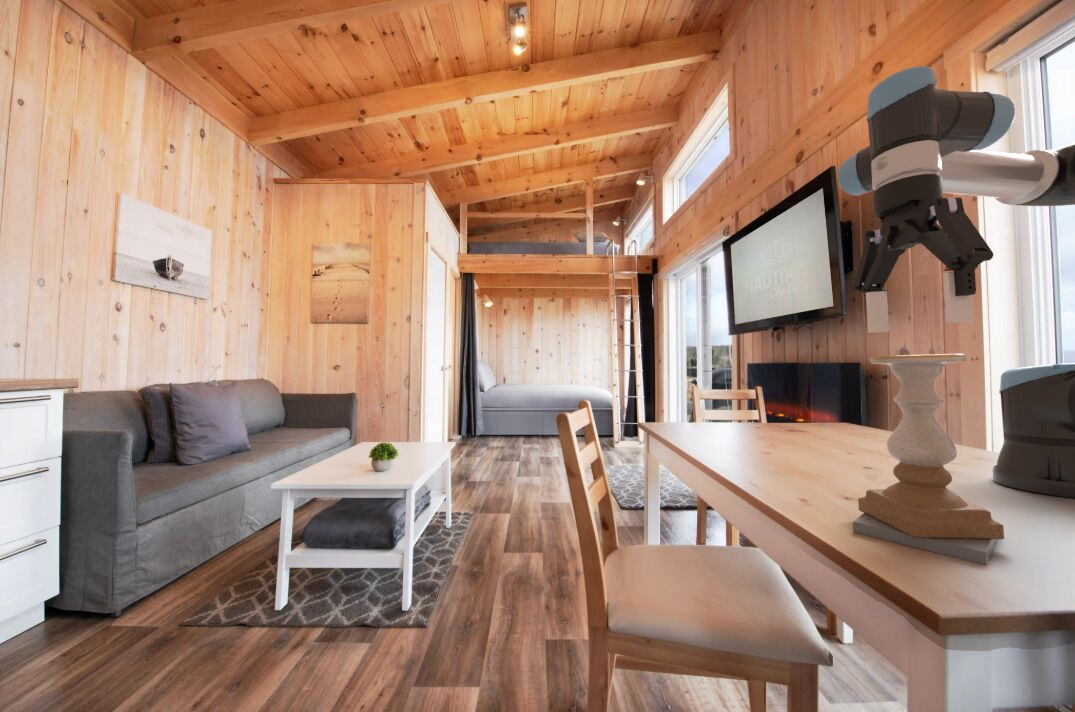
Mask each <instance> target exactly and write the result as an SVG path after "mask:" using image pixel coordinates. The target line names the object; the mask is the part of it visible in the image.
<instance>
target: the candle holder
mask: <svg viewBox="0 0 1075 712" xmlns="http://www.w3.org/2000/svg"><path fill="white" fill-rule="evenodd" d="M966 360H967V355H966V354H965V353H941V354H940V353H937V354H906V355H905V354H903V355H880V356H879V355H878V356H877V355H876V356H870V357H869V362H870V363H871V364H874V365H878V364H879V365H886V366H888V367H889V368H890V372H891V373H892V374H893V375H894V376H895V377H896V378H897V380H898V381H899V384H900V387H899V388H900V389H899V391H898V393H897V394H896V395H895V396H894V397H893V402H895V403H897V407H898V408H899V409H900V411H901V412H902V413H901V414H902V418H901V420H900V421H899V423H898V425H897V426H896V427H895V429H894V430H893V431H892V433H891V434H889V437H888V438H887V441H886V449H887V452H888V454H890V456H892V457H893V458H895V460H898V461H899V463H897V464H896V465H895V466H894V468H893V471H892V472H893V473H892V474H893V476H894V477H896V479H897V480H898V482H896V483H893V484H891V485H889V486H888V487H886V488H880V489H876V488H875V489H867V490H866V491H865V496H863V497H858V499H857V502H858V510H859V511H860V512H862V514H863V513H865V514H867V515H869V516H871V517H873V518H875V519H877V520H879V521H881V522H883V523H885V524H887V525H889V526H891V527H893V528H895V529H897V530H899V531H901V532H903V533H905V534H907V535H909V536H912V537H915V538H930V539H997V540H1004V539H1005V530H1004V529H1005V528H1004V525H1003V524H1002V523H1000V522H999V521H996V520H994V519H993V518H992V513H991V511H990V510H988V509H986V508H984V507H982V506H979V505H976V504H973V503H971V502H969V501H966V500H965V499H963V498H962V497H961V496H960V495H958V494H956V493H955V492H954V491H952V490H950V489H948V488H947V486H948V485H950V484H951V483H952V481H953V476H952V474H951V472H949V470H947V469H946V468H945V467H944V466H945V465H948V464H950V463H951V462H953V461H954V460H955V459H956V457H957V454H958V453H957V447H956V446H955V445H956V444H955V443H954V442H953V441H952V439H951V438H950V437H949V436H948V434H947V433H946V432H945V431H944V430H943V428H941V426H940V425H939V423H938V422H937V419H936V418H935V413H936V412H937V410H938V408H939V404H943V402H944V400H943V398H942V397H941V396H940V395H939V394H938V393H937V392H936V390H935V388H934V383H935V380H936V379H937V377H939V375H941V373H942V371H943V366H944V365H947V364H950V363H951V364H953V363H962V362H965V361H966Z"/></svg>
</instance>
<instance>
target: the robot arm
mask: <svg viewBox="0 0 1075 712" xmlns="http://www.w3.org/2000/svg"><path fill="white" fill-rule="evenodd" d="M937 85H938V81H937V79H936V76H935V71H934V70H933V69H932V68H931V67H930V66H923V65H922V66H921V65H920V66H913V67H909V68H905V69H902V70H900V71H899V70H898V71H897V72H895V73H893V74H891V75H889V76H887V77H886V78H885V79H883V80H881V82H879V83H878V84H876V85H875V86H874V87H873V89H872V90H871V91H870V92H869V94H868V98H867V113H866V114H867V115H866V119H865V120H866V122H867V126H868V127H867V131H868V138H869V139H868V140H869V145H868V146H865V148H862V149H859V150H857V152H856V153H854V154H853V155H852V156H850V157H849V158H847V159H845V161H844V162H842V163H841V165H840V167H839V169H838V172H837V177H838V178H837V180H838V181H837V182H838V184H839V187H840V188H841V189H842V190H843V192H845V193H846V194H848V195H850V196H854V197H855V196H861V195H864V194H866V193H867V194H868V193H871V192H873V193H872V211H873V215H874V217H877V218H878V219H880V220H881V224H880V228H879V229H877V230H876V229H871V230H866V231H865V233H864V244H863V245H864V247H863V250H862V253H861V258H860V260H859V261H860V262H859V264H858V269H857V272H856V276H855V280H854V283H853V291H854V292H861V293H862V294H864V306H865V307H864V309H865V312H866V318H867V333H870V334H872V333H887V332H888V333H889V332H890V321H889V307H888V306H889V305H888V302H889V301H888V291H887V290H886V289H885V288H884V287H885V285H886V283H887V282H888V279H889V277H890V275H891V273H892V271H893V269H894V267H895V265H896V264H897V261H898V260H899V257H900V256H901V255H903V254H904V253H905V252H906V250H909V249H911V248H913V247H915V246H917V245H922V246H924V247H925V249H927V250H928V251H929V252H930V253H931V254H932V255H934V257H935V258H937V260H939V261H940V263H942V264H944V266H946V267H945V269H943V270H944V271H945V272H942V279H943V280H942V281H943V282H942V283H943V295H944V312H945V324H965V323H975V312H974V311H975V310H974V297H973V295H974V296H975V294H976V292H977V286H976V285H977V284H976V283H977V282H976V269H977V268H978V267H979V265H980V264H982V263H983V262H986V261H991V260H992V259H993V258H994V252H993V250H992V249H991V248H990V246H989V245H988V243H987V242H986V240H985V239H984V238H983V236H982V234H981V233H980V231H978V229H977V227H976V226H975V225H974V223H973V222H972V220H971V219H970V217H969V216H968V215H967V213H966V212H965V208H964V203H963V199H962V197H959V196H956V197H955V196H953V197H944V194H950V195H951V194H953V195H965V196H974V197H984V198H985V197H986V198H994V199H995V200H996V201H997V202H999V203H1001V204H1004V205H1010V206H1023V207H1061V206H1063V207H1064V206H1072V205H1073V206H1075V141H1074V142H1072V143H1070V144H1065V145H1063V146H1061V147H1057V148H1052V149H1049V150H1043V149H1033V150H1030V151H1025V152H1023V153H1019V154H1018V153H1009V152H1007V153H1006V152H1000V151H999V152H997V151H988V150H984V149H986V148H988V147H990V146H992V145H994V144H995V143H997V142H998V141H1000V140H1001V139H1002V138H1003V137H1004V136H1005V135H1006V134H1007V132H1008V131H1009V130H1010V129H1011V127H1012V125H1013V123H1014V121H1015V117H1016V113H1017V112H1016V111H1017V107H1016V105H1015V101H1013V99H1011V97H1009V96H1007V95H1002V94H1001V93H1000V94H998V93H991V91H962V90H961V91H960V90H959V91H958V90H948V89H941V88H940V89H939V88H937ZM937 221H938V223H937ZM999 387H1000V388H999V391H998V393H999V394H1000V402H1001V403H1000V405H1001V417H1002V419H1001V421H1002V432H1003V445H1002V447H1001V450H1000V452H999V455H998V458H997V461H996V465H994V466H993V468H992V480H993V481H994V482H996V483H997V484H1000V485H1002V486H1006V487H1008V488H1013V489H1017V490H1021V491H1027V492H1032V493H1038V494H1041V495H1042V494H1044V495H1048V496H1049V495H1051V496H1057V497H1065V498H1074V499H1075V362H1070V363H1066V362H1065V363H1057V364H1045V365H1044V364H1043V365H1042V364H1041V365H1032V366H1023V367H1016V368H1010V369H1007V370H1005V371H1003V373H1001V376H1000V386H999Z"/></svg>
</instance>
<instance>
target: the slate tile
mask: <svg viewBox="0 0 1075 712" xmlns="http://www.w3.org/2000/svg"><path fill="white" fill-rule="evenodd" d="M852 529H853V530H852V531H853V532H854V533H857V534H861V535H865V536H869V537H872V538H873V537H874V538H877V539H880V540H886V541H888V542H893V543H897V544H902V545H905V546H909V547H912V548H918V549H921V550H926V551H929V552H933V553H937V554H942V555H945V556H950V557H954V558H958V559H961V560H964V561H969V562H974V563H978V564H982V565H984V566H985V565H986V566H987V564H988V562H989V560H990V557H991V555H992V553H993V551H994V547H995V545H996V542H997V540H998V539H930V538H915V537H912V536H909V535H907V534H905V533H903V532H901V531H899V530H897V529H895V528H893V527H891V526H889V525H887V524H885V523H883V522H881V521H879V520H877V519H875V518H873V517H871V516H869V515H867V514H865V513H863V512H862V514H861V515H860V516H858V517H857V518H855V519H854V520H852Z"/></svg>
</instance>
